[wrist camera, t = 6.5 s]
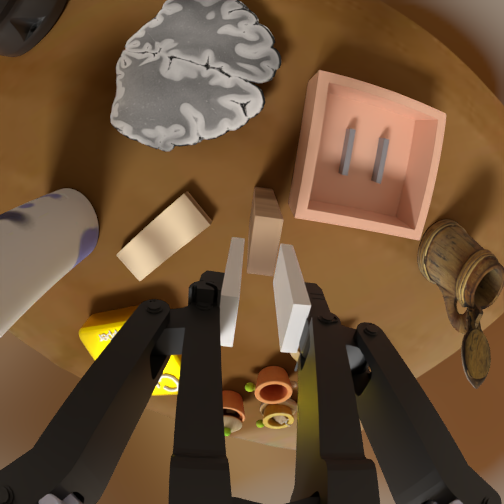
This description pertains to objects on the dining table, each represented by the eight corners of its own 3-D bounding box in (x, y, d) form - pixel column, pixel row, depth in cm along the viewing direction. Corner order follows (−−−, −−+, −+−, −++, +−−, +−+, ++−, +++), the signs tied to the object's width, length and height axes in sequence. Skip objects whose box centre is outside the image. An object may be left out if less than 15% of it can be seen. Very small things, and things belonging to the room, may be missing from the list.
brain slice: (235, 173, 31) (233, 177, 28) (105, 128, 29) (92, 128, 26) (303, 24, 24) (307, 15, 21) (168, -11, 22) (161, -21, 19)
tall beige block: (254, 186, 31) (255, 215, 20) (272, 189, 31) (283, 219, 20) (249, 225, 33) (246, 273, 22) (266, 227, 33) (273, 276, 22)
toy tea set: (330, 317, 38) (346, 366, 29) (373, 370, 42) (390, 413, 34) (197, 392, 45) (188, 437, 36) (254, 429, 49) (253, 469, 40)
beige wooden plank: (188, 190, 32) (184, 193, 30) (212, 219, 33) (210, 224, 31) (122, 248, 35) (116, 254, 33) (145, 274, 36) (139, 281, 34)
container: (76, 173, 30) (-47, 222, 12) (112, 239, 34) (13, 331, 15) (35, 210, 32) (-66, 269, 14) (68, 268, 36) (-18, 351, 17)
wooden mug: (392, 298, 36) (452, 391, 20) (433, 209, 31) (529, 269, 15) (433, 309, 37) (493, 388, 21) (472, 230, 32) (556, 288, 16)
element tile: (164, 298, 37) (154, 318, 33) (203, 374, 43) (198, 396, 38) (85, 313, 39) (71, 331, 35) (128, 380, 45) (120, 399, 40)
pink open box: (307, 81, 26) (319, 69, 21) (418, 115, 27) (446, 114, 21) (288, 203, 32) (294, 217, 26) (396, 223, 32) (419, 240, 27)
